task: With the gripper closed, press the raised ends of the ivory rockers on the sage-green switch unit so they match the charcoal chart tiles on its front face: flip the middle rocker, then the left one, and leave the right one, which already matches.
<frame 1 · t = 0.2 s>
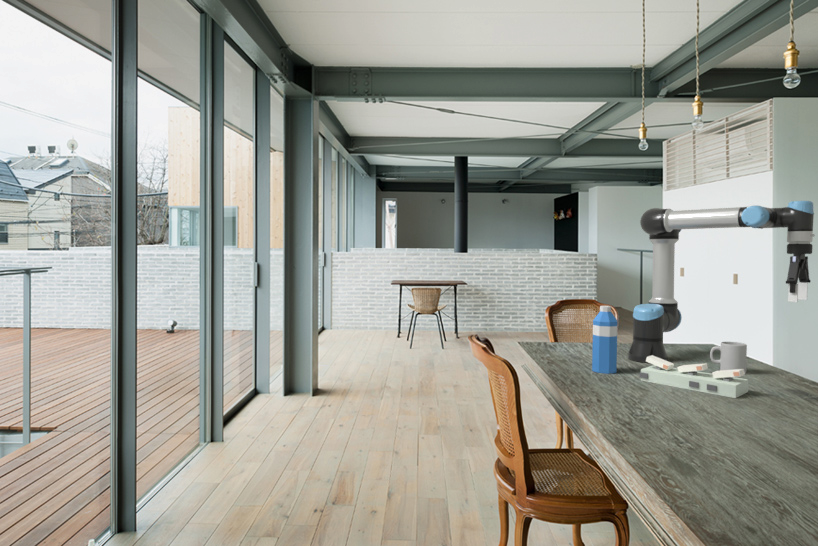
hand: (797, 300, 191), 28 cm above the table, fingers open, 13 cm apart
mug: (727, 371, 200), on the table
switch unit: (692, 385, 178), on the table
rocker right: (728, 373, 169), point 6 cm above the table, hinge at -14.0°
rocker middle: (692, 367, 177), point 6 cm above the table, hinge at -14.0°
water bottle: (604, 371, 200), on the table
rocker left: (659, 362, 186), point 6 cm above the table, hinge at 14.0°
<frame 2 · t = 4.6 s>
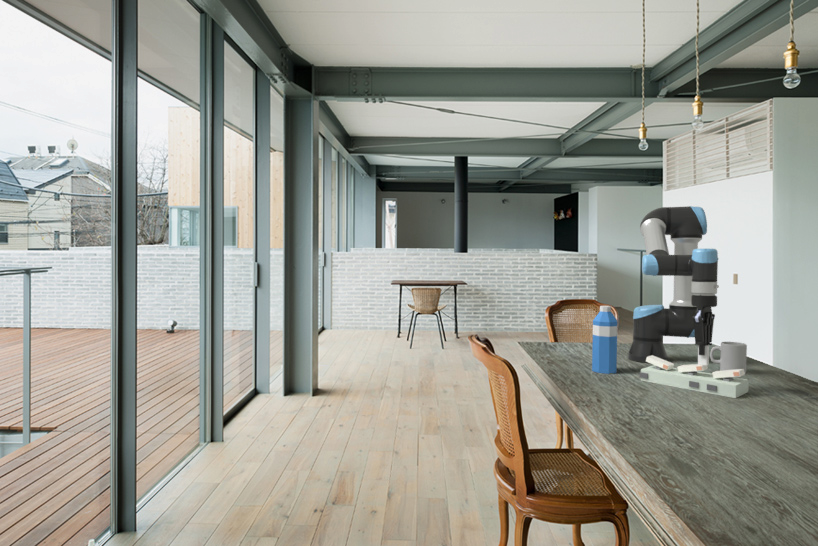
hand: (703, 364, 174), 8 cm above the table, fingers closed, pressing on rocker middle
rocker middle: (692, 367, 177), point 6 cm above the table, hinge at -12.8°, touching gripper
everything else where it was.
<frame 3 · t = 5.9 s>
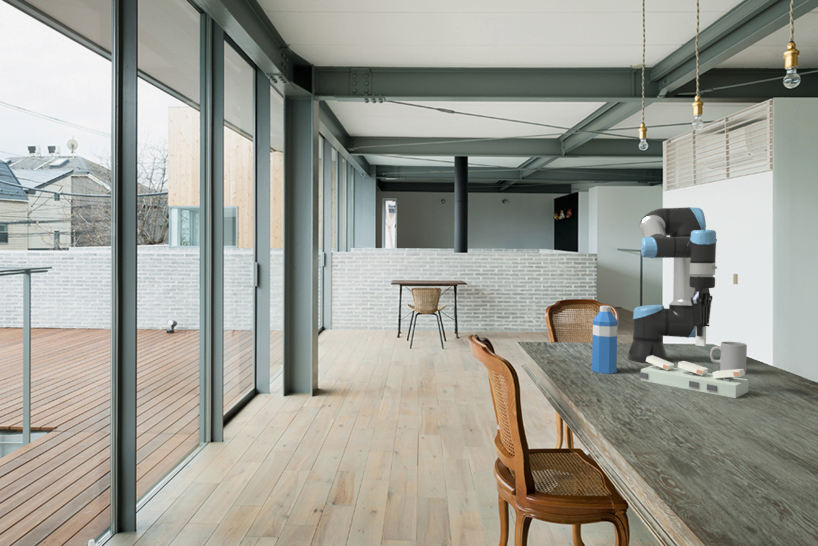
hand: (700, 345, 175), 14 cm above the table, fingers closed
rocker middle: (692, 367, 177), point 6 cm above the table, hinge at 9.9°
everything else where it was.
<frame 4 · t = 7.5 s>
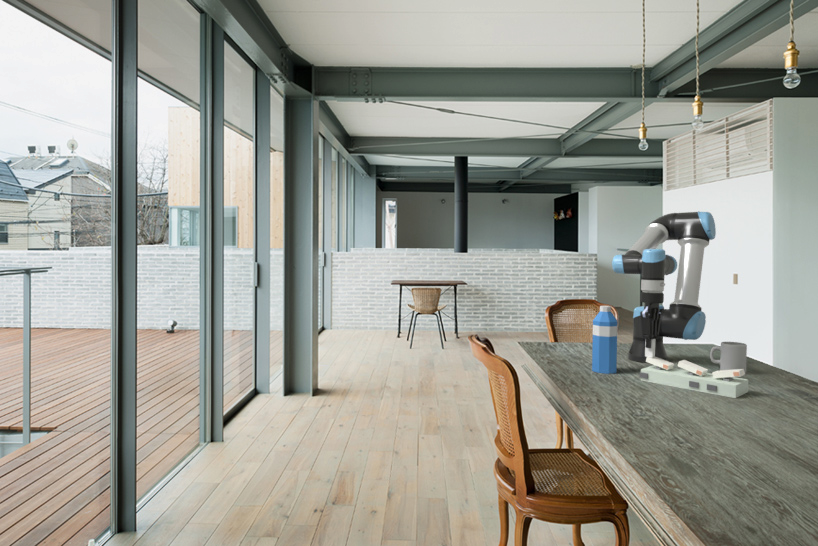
hand: (649, 356, 188), 8 cm above the table, fingers closed, pressing on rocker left
rocker middle: (692, 367, 177), point 6 cm above the table, hinge at 15.5°
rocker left: (659, 362, 186), point 6 cm above the table, hinge at 12.5°, touching gripper
everything else where it was.
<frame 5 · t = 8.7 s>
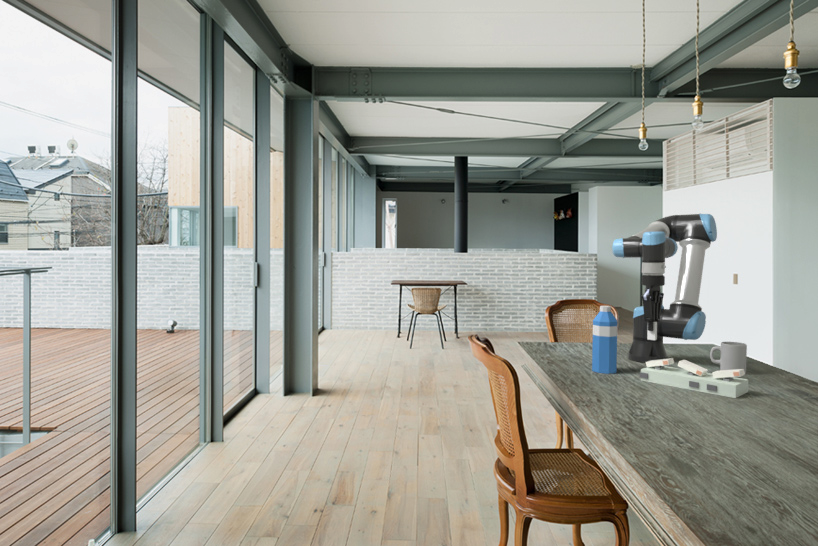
hand: (652, 339, 188), 14 cm above the table, fingers closed
rocker middle: (692, 367, 177), point 6 cm above the table, hinge at 16.6°
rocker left: (659, 362, 186), point 6 cm above the table, hinge at -15.1°
everything else where it was.
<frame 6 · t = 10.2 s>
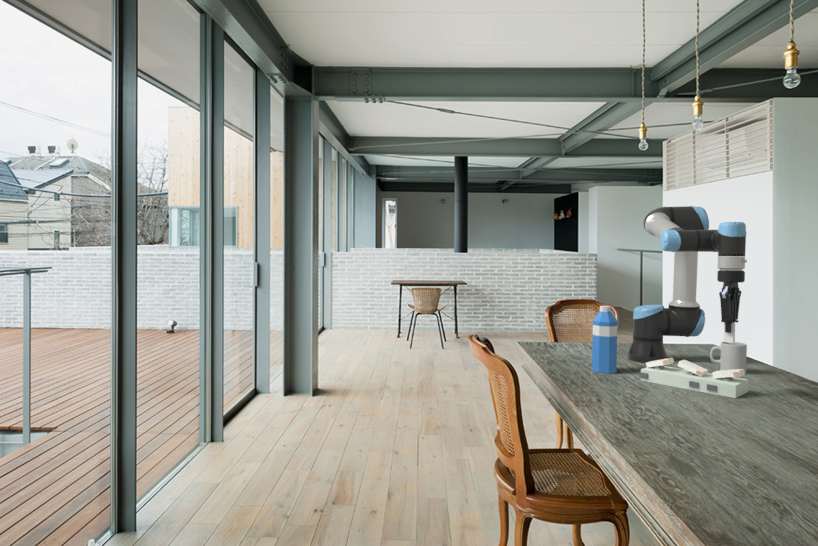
hand: (729, 342, 169), 16 cm above the table, fingers closed
rocker middle: (692, 367, 177), point 6 cm above the table, hinge at 16.9°
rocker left: (659, 362, 186), point 6 cm above the table, hinge at -18.5°
everything else where it was.
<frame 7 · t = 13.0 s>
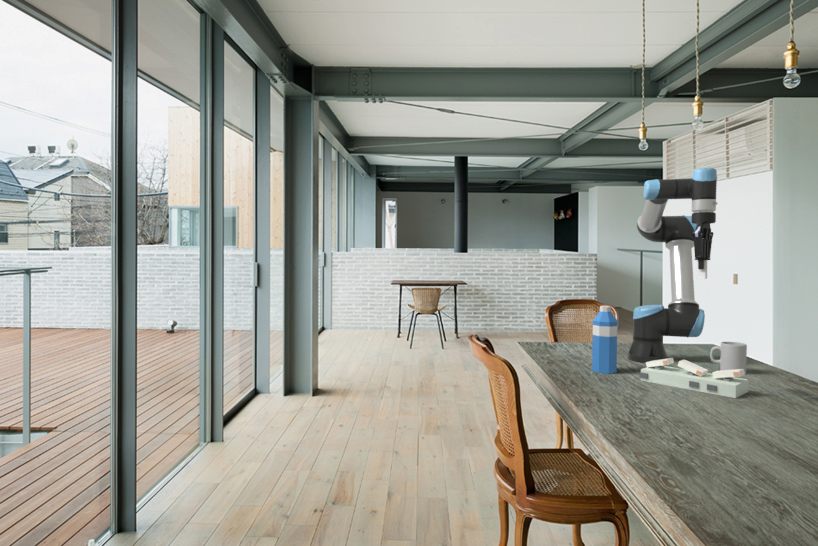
hand: (702, 278, 185), 36 cm above the table, fingers closed
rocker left: (659, 362, 186), point 6 cm above the table, hinge at -17.0°
everything else where it was.
at the end: rocker middle at +17° (first picture: -14°); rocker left at -17° (first picture: +14°); rocker right at -14° (first picture: -14°) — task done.
